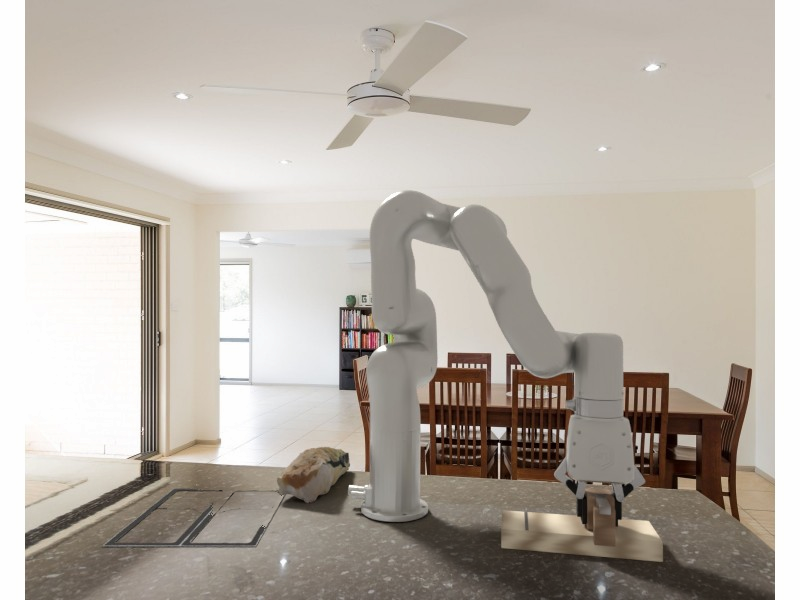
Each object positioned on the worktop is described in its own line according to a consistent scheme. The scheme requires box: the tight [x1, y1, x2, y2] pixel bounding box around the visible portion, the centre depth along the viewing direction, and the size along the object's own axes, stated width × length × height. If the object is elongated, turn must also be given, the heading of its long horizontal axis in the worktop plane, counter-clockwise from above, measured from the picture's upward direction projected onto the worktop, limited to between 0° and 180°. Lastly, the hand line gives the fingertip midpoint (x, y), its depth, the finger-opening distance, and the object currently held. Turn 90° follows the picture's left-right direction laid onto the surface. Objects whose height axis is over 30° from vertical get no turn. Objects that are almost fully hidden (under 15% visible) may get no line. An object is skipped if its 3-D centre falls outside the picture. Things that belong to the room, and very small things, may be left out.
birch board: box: [500, 509, 664, 563], centre depth 93 cm, size 24×9×3 cm, turn 79°
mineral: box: [276, 446, 351, 504], centre depth 124 cm, size 26×9×10 cm
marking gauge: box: [585, 487, 615, 547], centre depth 90 cm, size 4×9×6 cm, turn 169°
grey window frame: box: [101, 487, 267, 548], centre depth 105 cm, size 24×1×30 cm
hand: (598, 521), depth 92 cm, fingers closed on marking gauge, 4 cm apart
